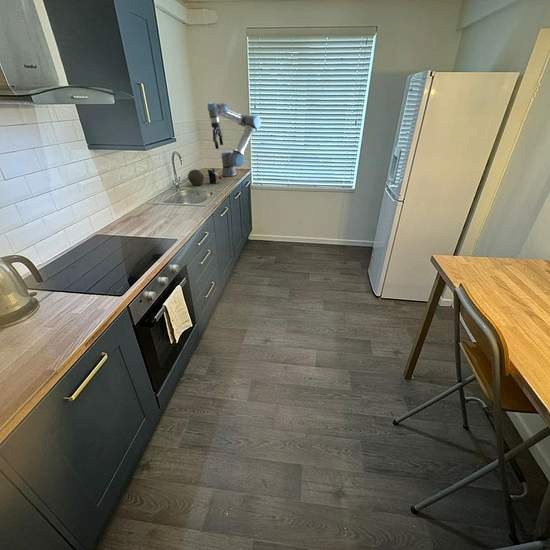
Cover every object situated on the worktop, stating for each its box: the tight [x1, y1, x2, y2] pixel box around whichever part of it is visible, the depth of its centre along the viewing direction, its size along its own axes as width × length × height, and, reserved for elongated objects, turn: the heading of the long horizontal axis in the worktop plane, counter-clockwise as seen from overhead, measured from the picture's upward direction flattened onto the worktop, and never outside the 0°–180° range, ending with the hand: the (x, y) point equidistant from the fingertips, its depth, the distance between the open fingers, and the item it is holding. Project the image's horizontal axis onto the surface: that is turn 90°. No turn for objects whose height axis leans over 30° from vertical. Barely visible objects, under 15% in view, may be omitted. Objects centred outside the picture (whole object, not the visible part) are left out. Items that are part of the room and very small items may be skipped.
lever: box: [210, 168, 223, 180], centre depth 279 cm, size 13×4×4 cm, turn 73°
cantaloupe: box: [187, 169, 205, 187], centre depth 275 cm, size 14×14×15 cm
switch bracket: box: [205, 168, 221, 185], centre depth 281 cm, size 11×9×13 cm
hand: (219, 146), depth 279 cm, fingers open, 13 cm apart
